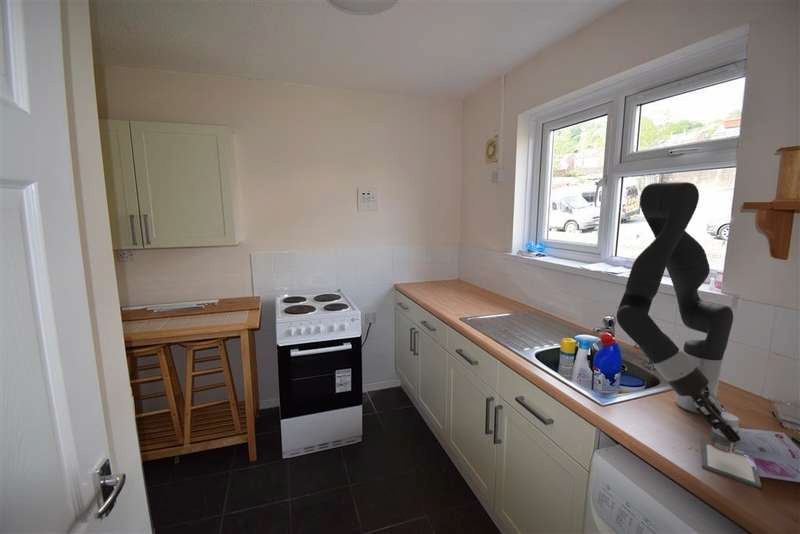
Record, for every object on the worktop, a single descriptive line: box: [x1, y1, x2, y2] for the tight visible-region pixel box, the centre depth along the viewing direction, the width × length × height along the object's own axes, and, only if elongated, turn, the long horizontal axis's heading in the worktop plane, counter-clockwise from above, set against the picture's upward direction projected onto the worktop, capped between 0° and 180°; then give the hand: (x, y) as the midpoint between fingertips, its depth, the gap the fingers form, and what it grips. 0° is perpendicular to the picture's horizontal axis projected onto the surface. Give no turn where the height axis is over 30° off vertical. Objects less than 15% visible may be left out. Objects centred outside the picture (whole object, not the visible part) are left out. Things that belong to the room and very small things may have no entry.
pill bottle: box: [708, 411, 740, 453], centre depth 86 cm, size 5×5×8 cm
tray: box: [700, 440, 762, 489], centre depth 86 cm, size 12×10×1 cm
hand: (734, 435), depth 85 cm, fingers closed on pill bottle, 4 cm apart
